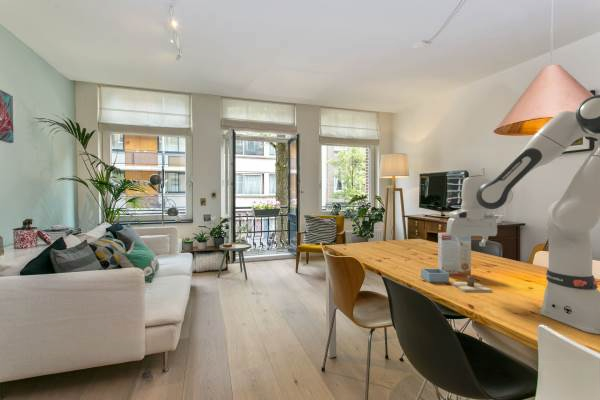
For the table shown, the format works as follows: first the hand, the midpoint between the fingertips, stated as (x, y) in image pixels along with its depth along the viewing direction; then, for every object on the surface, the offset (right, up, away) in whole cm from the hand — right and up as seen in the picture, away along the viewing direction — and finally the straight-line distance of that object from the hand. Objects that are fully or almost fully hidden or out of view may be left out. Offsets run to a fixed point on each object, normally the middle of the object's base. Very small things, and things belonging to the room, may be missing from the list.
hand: (471, 246), depth 131 cm
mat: (0, -18, 0) cm, 18 cm away
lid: (0, -18, 0) cm, 18 cm away
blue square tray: (-10, -18, +12) cm, 24 cm away
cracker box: (+4, -18, +23) cm, 30 cm away
